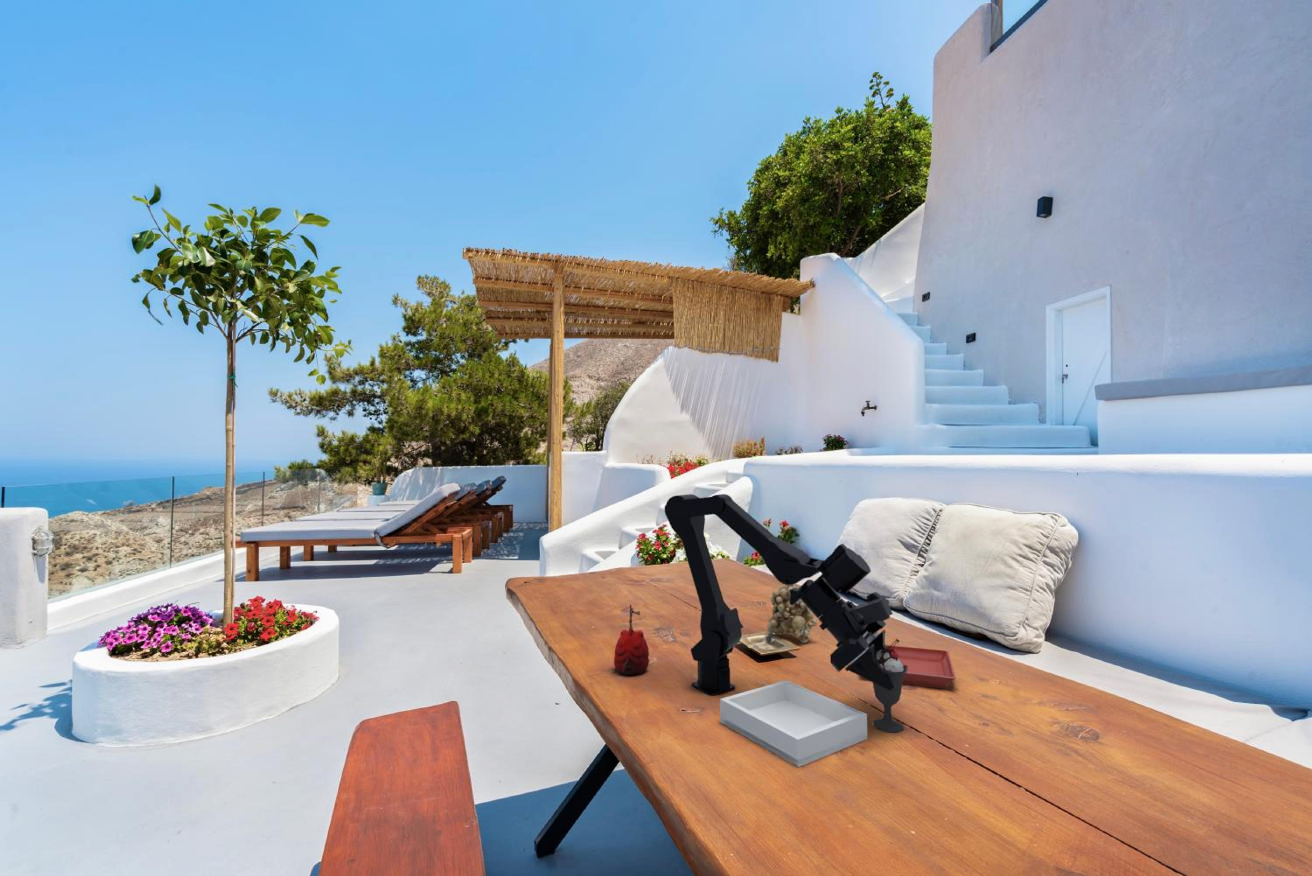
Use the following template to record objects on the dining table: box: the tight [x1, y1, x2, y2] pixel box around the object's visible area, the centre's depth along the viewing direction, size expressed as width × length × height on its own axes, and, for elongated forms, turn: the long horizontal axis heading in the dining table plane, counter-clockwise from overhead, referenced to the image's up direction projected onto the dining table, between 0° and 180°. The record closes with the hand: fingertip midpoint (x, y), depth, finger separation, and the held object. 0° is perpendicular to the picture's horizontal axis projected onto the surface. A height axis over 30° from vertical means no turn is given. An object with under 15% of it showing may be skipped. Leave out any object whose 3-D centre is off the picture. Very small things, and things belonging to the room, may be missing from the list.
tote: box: [719, 679, 868, 768], centre depth 99 cm, size 18×16×4 cm
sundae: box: [872, 638, 908, 733], centre depth 100 cm, size 7×7×15 cm
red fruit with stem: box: [613, 604, 650, 676], centre depth 127 cm, size 8×7×15 cm
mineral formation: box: [766, 584, 818, 644], centre depth 150 cm, size 8×13×15 cm, turn 42°
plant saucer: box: [885, 644, 956, 689], centre depth 126 cm, size 18×18×3 cm
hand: (896, 682), depth 100 cm, fingers closed on sundae, 6 cm apart
